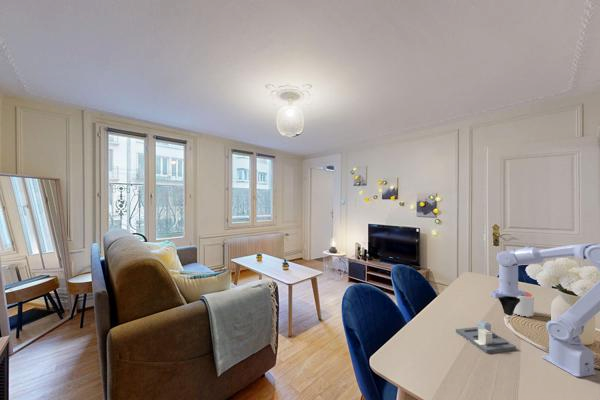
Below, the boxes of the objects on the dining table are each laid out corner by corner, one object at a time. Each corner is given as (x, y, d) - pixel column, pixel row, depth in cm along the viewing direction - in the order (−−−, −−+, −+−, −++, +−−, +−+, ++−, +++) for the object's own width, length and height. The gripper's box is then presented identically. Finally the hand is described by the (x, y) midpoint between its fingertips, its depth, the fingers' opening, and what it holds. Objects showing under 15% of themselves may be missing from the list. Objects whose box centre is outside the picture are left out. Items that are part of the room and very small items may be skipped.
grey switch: (490, 334, 93) (490, 323, 93) (484, 334, 93) (484, 324, 93) (483, 329, 96) (483, 319, 96) (477, 330, 96) (477, 320, 96)
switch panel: (516, 349, 86) (516, 345, 86) (486, 353, 84) (486, 348, 84) (482, 329, 99) (482, 325, 99) (455, 332, 97) (455, 328, 97)
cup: (539, 319, 108) (539, 298, 108) (514, 317, 110) (514, 296, 110) (523, 309, 117) (523, 289, 117) (501, 307, 119) (501, 288, 119)
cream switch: (492, 343, 87) (492, 332, 87) (485, 344, 86) (485, 333, 86) (484, 339, 90) (484, 328, 90) (478, 339, 89) (478, 328, 89)
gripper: (512, 276, 97) (512, 308, 97) (483, 278, 95) (483, 310, 95) (532, 282, 90) (531, 316, 90) (500, 284, 88) (500, 319, 88)
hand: (508, 314), depth 92 cm, fingers closed
